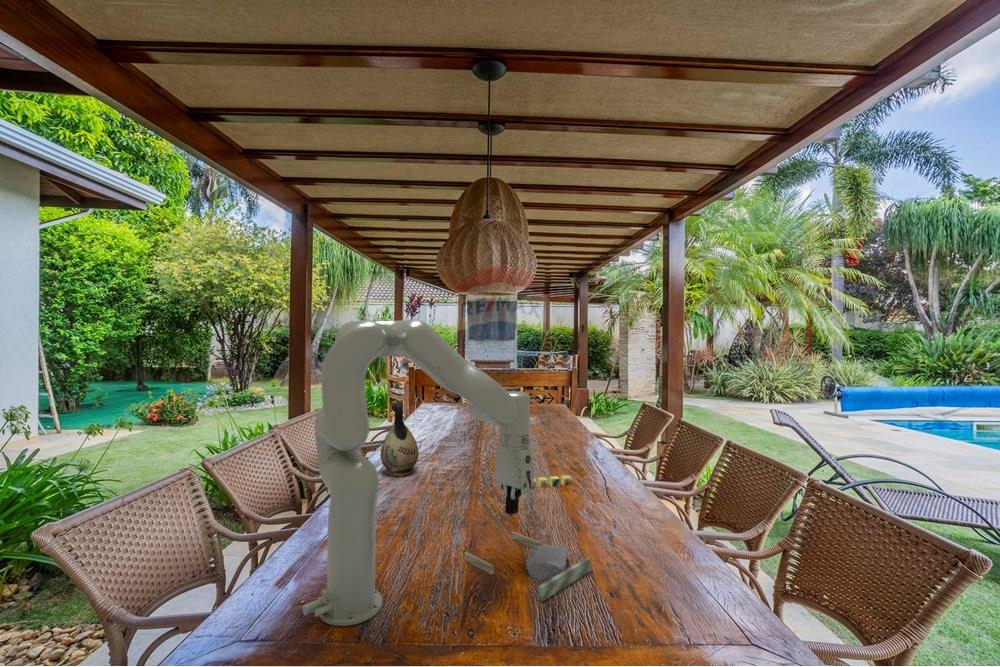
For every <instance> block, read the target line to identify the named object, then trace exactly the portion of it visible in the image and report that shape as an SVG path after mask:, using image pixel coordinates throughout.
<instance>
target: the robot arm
mask: <svg viewBox="0 0 1000 667" xmlns="http://www.w3.org/2000/svg"><path fill="white" fill-rule="evenodd" d="M334 337H335V338H334V340H335V341H334V343H333V344H332V345H331V346H330V348H329V350H328V352H327V354H326V356H325V358H324V361H323V363H322V367H321V378H320V380H321V381H320V382H321V383H320V384H321V400H322V406H321V407H320V409H318V412H317V413H316V416H315V420H314V436H315V437H314V438H315V445H316V456H317V462H318V463H317V464H318V469H319V470H318V471H319V475H320V478H321V480H322V482H323V484H324V485H325V486H326V488H327V490H328V491H329V507H328V515H327V516H328V517H327V554H326V555H327V556H326V557H327V566H326V567H327V571H326V572H327V575H326V588H324V589H322V591H321V596H318V597H317V599H316V600H314V601H310V602H307V603H305V604H303V605H302V614H303V615H304V616H307V615H310V614H312V613H314V616H315V617H316V618H318V617H319V619H320V620H321V621H322V622H324V623H326V624H328V625H331V626H335V627H336V626H337V627H346V626H354V625H358V624H361V623H363V622H366V621H368V620H370V619H371V618H373V617H374V616H376V615H377V614H378V612H380V611H381V608H382V606H383V596H382V594H381V593H380V592H379V591H378V590H377V589H376V530H377V528H376V525H377V524H376V520H377V516H376V515H377V506H378V505H377V504H378V497H379V491H380V477H379V472H378V471H377V468H376V466H375V465H374V464H373V463H372V462H371V460H369V459H368V458H367V457H366V456H365V455H363V453H362V446H363V445H364V444H365V443H366V441H367V440H368V436H369V434H370V433H369V432H370V422H369V414H368V406H367V405H368V404H367V397H366V373H367V370H368V368H369V367H370V366H371V364H372V362H373V361H374V360H375V359H377V358H383V357H397V356H398V357H400V356H405V357H406V358H408V359H409V360H410V361H412V363H413V364H415V365H416V366H417V367H418V368H419V369H420V370H422V371H423V372H424V373H425V374H426V375H427V376H428V377H429V378H430V379H431V380H433V381H434V382H435V383H436V384H437V385H439V386H440V387H441V388H444V390H446V391H448V392H450V393H452V394H455V395H458V396H459V397H461V398H464V399H465V400H467V401H468V410H469V413H470V414H471V416H472V417H473V418H475V419H476V420H478V421H481V422H484V423H488V424H491V425H494V426H497V427H499V443H498V444H497V448H496V454H495V461H494V480H495V483H496V485H497V486H498V487H500V488H501V490H502V491H503V492H502V493H503V496H504V497H505V506H504V512H505V514H507V515H510V516H512V515H515V514H517V513H519V505H520V504H519V502H520V498H521V497H522V496H523V495H529V494H530V493H531V489H530V487H529V486H532V485H533V483H534V479H535V470H534V467H535V466H534V455H533V450H532V449H533V448H532V447H531V446H530V445H532V439H530V422H531V420H530V419H531V418H530V417H531V396H530V395H529V393H527V392H525V391H524V392H523V391H517V390H516V391H515V390H513V391H512V390H510V391H507V390H506V389H505V388H504V387H503V385H501V384H500V383H499V382H497V381H496V380H495V379H494V378H492V377H491V376H490V375H488V374H487V373H486V372H484V371H482V370H481V369H480V368H478V367H477V366H476V365H475V364H473V363H471V362H470V361H468V360H467V359H466V358H464V357H463V356H462V355H461V354H460V353H459V352H457V350H455V348H453V347H452V345H451V344H449V343H448V341H446V340H445V339H444V338H443V337H442V336H441V335H440V334H439V333H438V332H437V331H436V330H435V329H433V328H432V327H431V326H430V325H429V324H428V323H427V322H425V321H423V320H420V319H402V320H401V319H400V320H385V321H381V320H380V321H377V320H375V321H373V320H372V319H371V320H369V319H361V320H353V321H352V320H351V321H348V322H346V323H343V324H342V326H340V328H338V330H337V331H336V334H335V336H334Z"/></svg>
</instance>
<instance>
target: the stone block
mask: <svg viewBox="0 0 1000 667" xmlns="http://www.w3.org/2000/svg"><path fill="white" fill-rule="evenodd" d="M525 563H526V569H527V573H528V575H529V577H530V578H532V579H533V578H534V579H537V580H550V579H551V578H553V577H555V576H556V575H558V574H560V573H562V572H563V571H565V570H567V564H568V547H560V546H556V545H551V544H544V545H542V544H541V546H537V547H534V548H531V549H530V552H529V553H528V555H527V558H526V562H525Z"/></svg>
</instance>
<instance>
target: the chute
mask: <svg viewBox="0 0 1000 667" xmlns="http://www.w3.org/2000/svg"><path fill="white" fill-rule="evenodd" d="M511 540H513V541H514V542H517V543H520V544H522V545H524V546H527V547H529V548H531V549H532V548H534V547H537V546H542V542H540V541H539V540H536V539H533V538H531V537H528V536H526V535H523V534H521V533H519V532H517V531H511ZM463 554H464V556H463V561H464V562H466V563H468V564H470V565H472V566H474V567H476V568H478V569H479V570H481V571H483V572H485V573H487V574H489V575H490V576H493V575H494V574H495V565H493V564H492V563H489V562H488V561H486V560H484V559H481V557H478V556H475V555H474V554H473V553H470V552H467V551H465V552H463ZM590 572H591V558H590V557H585V558H583V559H582V560H580V561H579V562H577V563H575V564H574V565H572V566H570V567H568V568H566V570H565V571H563V572H562V573H560V574H558V575H556V576H555V577H553V578H551V579H547V581H544V583H541V584H540V585H539V586H538V601H541V602H544V601H546V600H547V599H549V598H551V597H552V596H554V595H556V594H557V593H559V592H560V591H562V590H563V589H565V588H566V587H568V586H569V585H571V584H572V583H574V582H576V581H578V580H579V579H581V577H584V576H586V574H589V573H590Z"/></svg>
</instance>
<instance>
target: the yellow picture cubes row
mask: <svg viewBox="0 0 1000 667" xmlns="http://www.w3.org/2000/svg"><path fill="white" fill-rule="evenodd" d="M572 484H573V477H572V476H570V475H569V474H568V475H560V477H559V476H557V475H554V476H553V475H552V476H549V477H548V478H547V477H546V476H540V477H537V478H534V483H533V485H532V486H529V487H530V490H531V489H537V486H538V487H539V488H540V489H543V488H544V489H545V488H549V486H551V488H555V487H561V485H562V486H564V487H566V486H573V485H572Z"/></svg>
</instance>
